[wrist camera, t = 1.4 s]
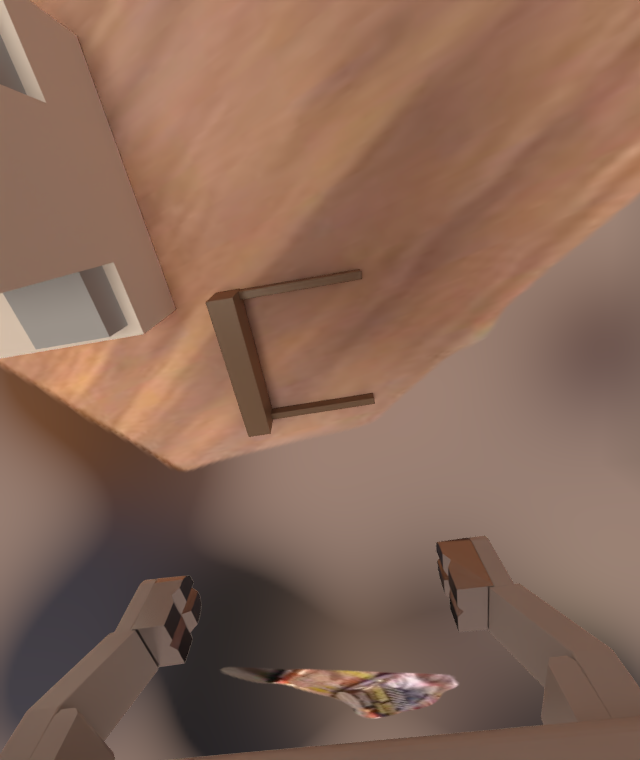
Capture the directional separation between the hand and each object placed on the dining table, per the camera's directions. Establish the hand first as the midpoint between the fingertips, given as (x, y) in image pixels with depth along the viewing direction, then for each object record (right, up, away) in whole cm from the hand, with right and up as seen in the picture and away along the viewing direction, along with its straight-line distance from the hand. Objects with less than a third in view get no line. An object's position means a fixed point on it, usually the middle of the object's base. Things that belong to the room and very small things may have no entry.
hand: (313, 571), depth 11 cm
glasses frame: (-2, +10, +28) cm, 30 cm away
